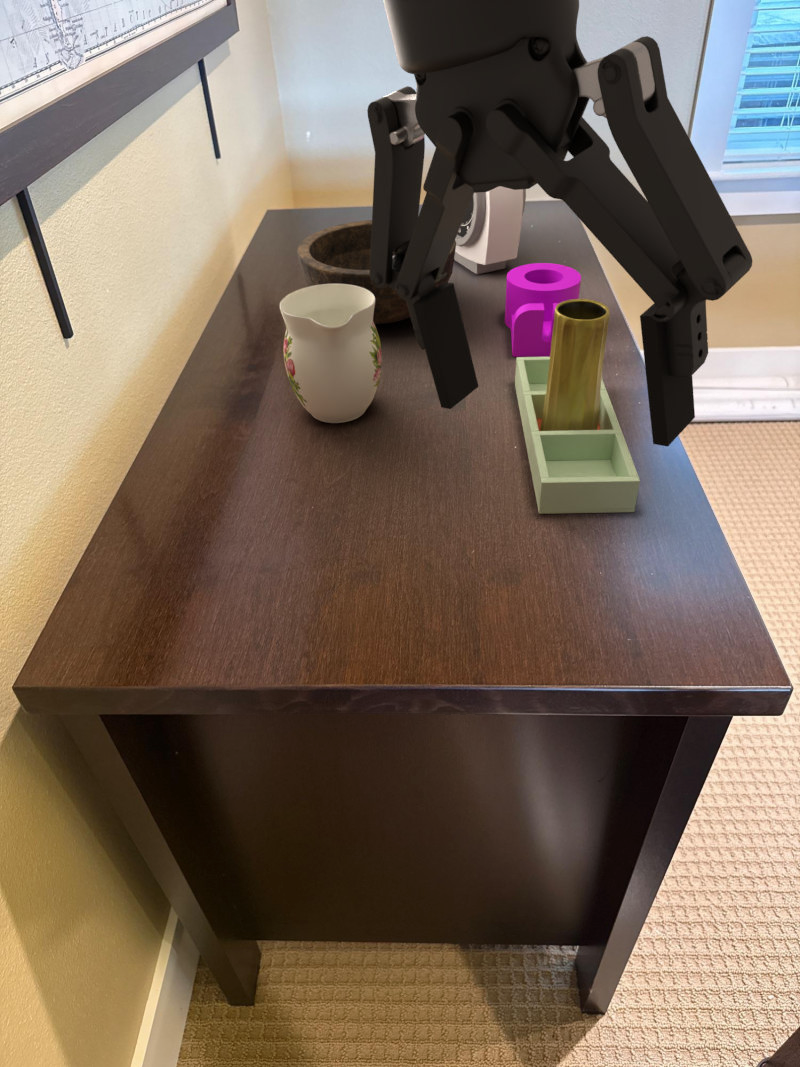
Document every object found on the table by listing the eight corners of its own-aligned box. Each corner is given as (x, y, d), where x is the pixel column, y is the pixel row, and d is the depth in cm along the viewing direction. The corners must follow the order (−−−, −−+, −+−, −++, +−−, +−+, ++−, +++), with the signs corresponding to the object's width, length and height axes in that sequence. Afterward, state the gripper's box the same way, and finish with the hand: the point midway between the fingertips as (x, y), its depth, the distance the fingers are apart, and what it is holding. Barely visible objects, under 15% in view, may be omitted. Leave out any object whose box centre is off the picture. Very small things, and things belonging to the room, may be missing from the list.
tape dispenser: (503, 306, 113) (505, 263, 109) (572, 305, 112) (577, 262, 108) (506, 356, 100) (509, 310, 96) (584, 356, 99) (589, 309, 95)
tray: (634, 512, 74) (640, 480, 72) (538, 513, 74) (541, 482, 72) (590, 383, 94) (593, 355, 92) (514, 384, 94) (516, 357, 92)
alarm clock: (427, 249, 132) (425, 117, 119) (471, 240, 135) (473, 110, 122) (479, 284, 119) (483, 140, 107) (526, 273, 122) (535, 132, 109)
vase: (578, 457, 80) (594, 327, 71) (528, 438, 84) (537, 312, 75) (607, 432, 84) (626, 306, 75) (558, 415, 87) (571, 291, 78)
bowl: (459, 345, 103) (459, 271, 97) (297, 350, 104) (287, 277, 98) (452, 283, 120) (453, 216, 114) (313, 287, 121) (306, 222, 115)
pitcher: (372, 365, 100) (364, 259, 91) (395, 438, 86) (389, 320, 77) (287, 375, 99) (271, 268, 90) (297, 450, 85) (279, 333, 76)
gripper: (861, -209, 23) (831, 406, 35) (327, -14, 40) (430, 359, 52) (753, -176, 20) (760, 498, 32) (215, 24, 36) (354, 415, 48)
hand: (555, 412), depth 42 cm, fingers open, 13 cm apart
